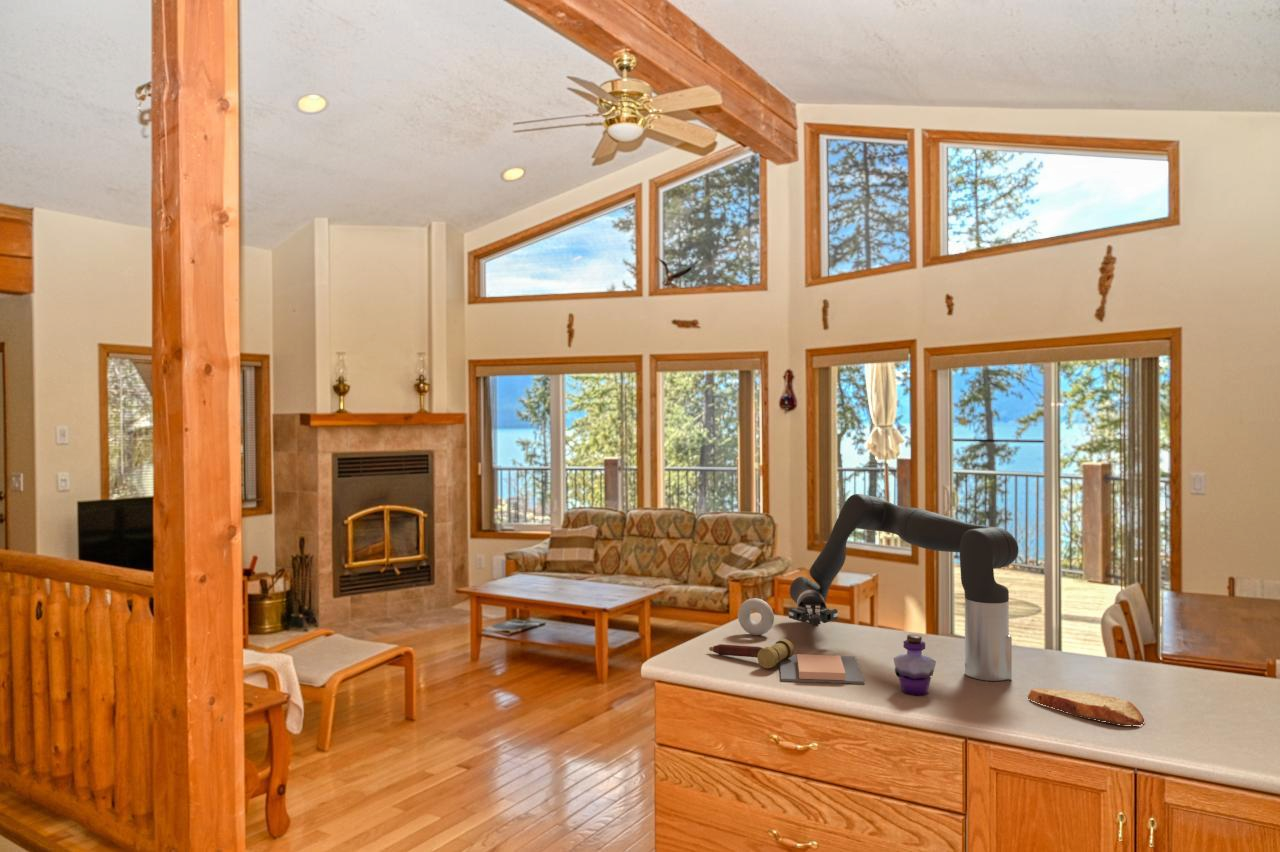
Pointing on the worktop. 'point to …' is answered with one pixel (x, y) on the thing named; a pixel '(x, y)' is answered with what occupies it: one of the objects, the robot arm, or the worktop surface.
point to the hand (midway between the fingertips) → (815, 622)
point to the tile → (820, 667)
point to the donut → (762, 608)
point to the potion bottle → (914, 667)
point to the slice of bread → (1089, 705)
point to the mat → (791, 674)
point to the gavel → (759, 652)
